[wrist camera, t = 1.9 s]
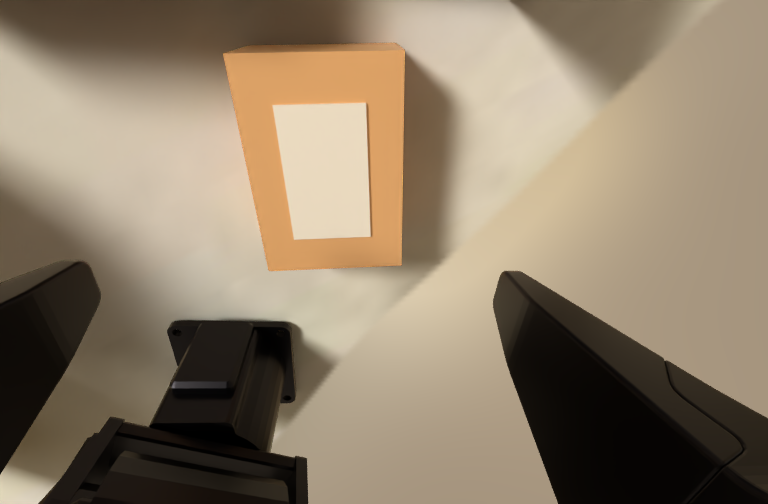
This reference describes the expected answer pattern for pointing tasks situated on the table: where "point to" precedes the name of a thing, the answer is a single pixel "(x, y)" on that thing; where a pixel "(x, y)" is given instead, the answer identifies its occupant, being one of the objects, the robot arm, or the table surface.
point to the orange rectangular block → (323, 150)
